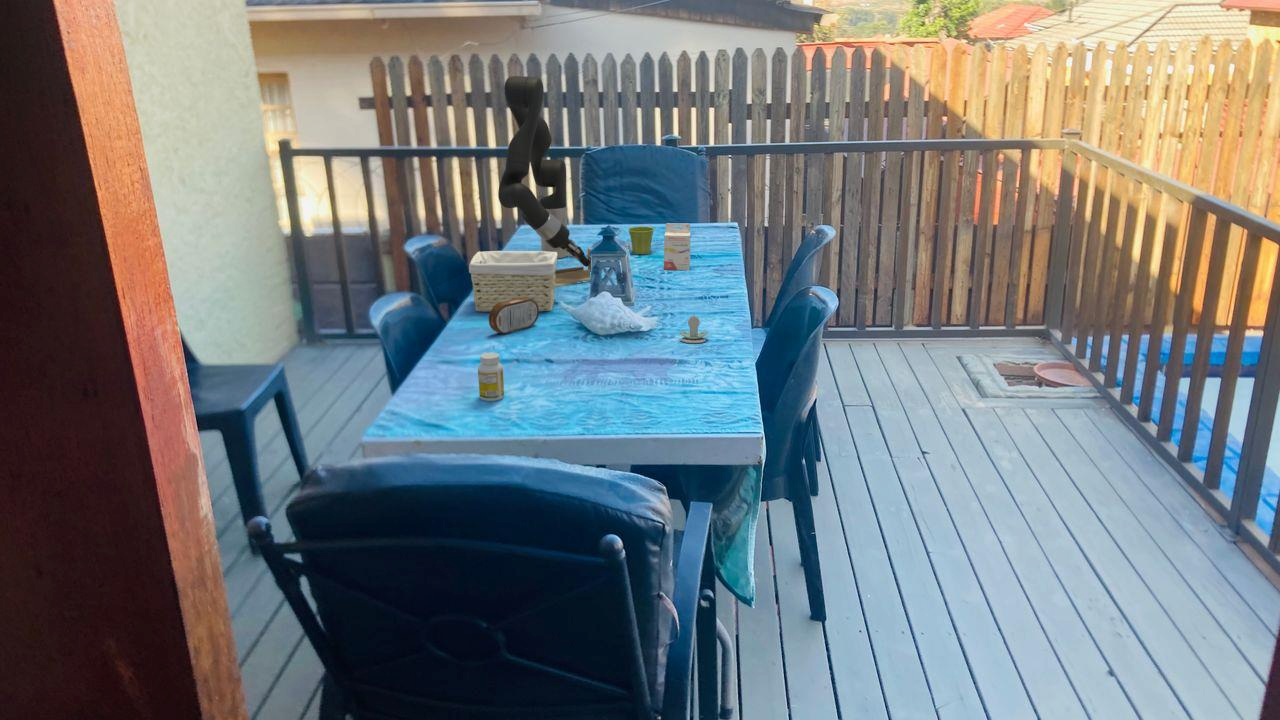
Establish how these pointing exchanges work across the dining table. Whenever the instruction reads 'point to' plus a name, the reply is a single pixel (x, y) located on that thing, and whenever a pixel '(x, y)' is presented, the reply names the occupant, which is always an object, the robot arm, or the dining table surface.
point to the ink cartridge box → (677, 247)
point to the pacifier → (693, 332)
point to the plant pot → (641, 239)
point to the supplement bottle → (490, 377)
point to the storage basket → (513, 277)
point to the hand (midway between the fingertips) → (587, 264)
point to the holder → (571, 276)
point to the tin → (513, 315)
